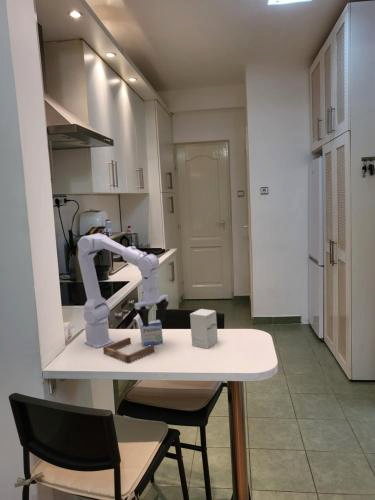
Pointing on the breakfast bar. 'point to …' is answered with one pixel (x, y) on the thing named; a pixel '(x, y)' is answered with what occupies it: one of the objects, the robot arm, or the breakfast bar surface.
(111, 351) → the walnut bay
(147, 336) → the medicine box
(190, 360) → the breakfast bar surface
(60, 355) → the breakfast bar surface
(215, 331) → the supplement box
